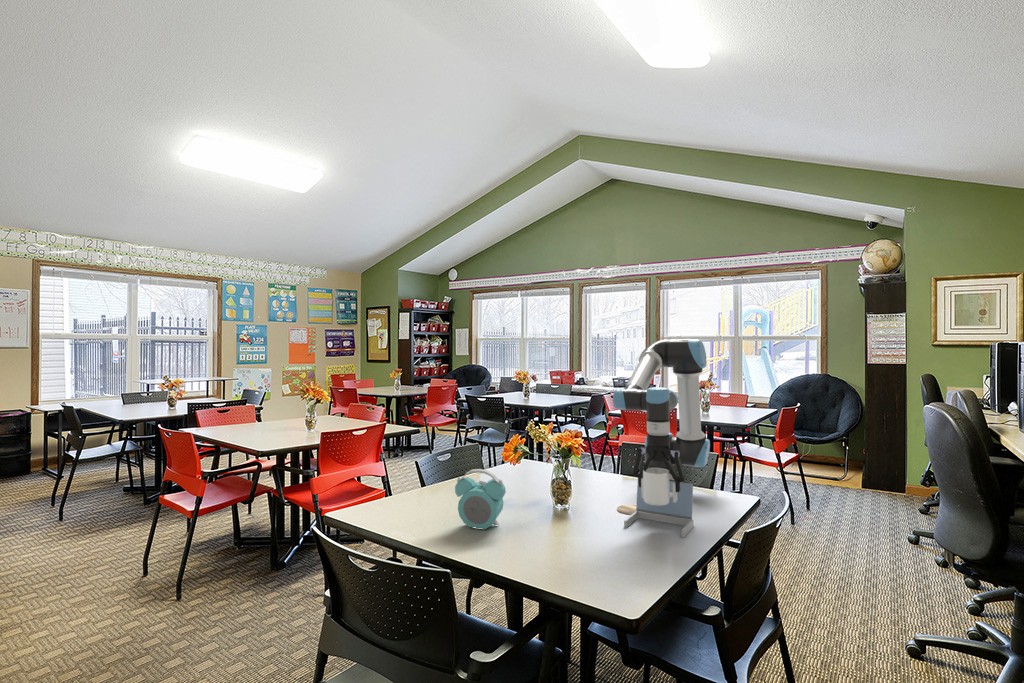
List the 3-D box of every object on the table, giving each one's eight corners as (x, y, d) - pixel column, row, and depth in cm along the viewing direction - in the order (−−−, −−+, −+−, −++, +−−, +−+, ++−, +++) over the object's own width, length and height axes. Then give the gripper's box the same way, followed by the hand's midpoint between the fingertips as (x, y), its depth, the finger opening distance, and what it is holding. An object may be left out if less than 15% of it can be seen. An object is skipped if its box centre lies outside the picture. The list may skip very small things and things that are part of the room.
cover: (636, 511, 195) (637, 510, 196) (691, 519, 185) (692, 519, 186) (637, 477, 197) (639, 477, 198) (692, 484, 187) (693, 483, 188)
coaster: (622, 504, 212) (622, 503, 212) (650, 508, 206) (650, 507, 206) (612, 511, 202) (612, 510, 202) (641, 516, 197) (641, 515, 197)
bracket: (636, 516, 196) (636, 510, 196) (693, 526, 186) (693, 519, 186) (624, 527, 186) (624, 520, 186) (684, 537, 175) (683, 530, 175)
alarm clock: (509, 524, 189) (508, 466, 189) (501, 533, 180) (500, 473, 180) (462, 520, 193) (461, 464, 194) (452, 529, 184) (451, 470, 184)
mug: (683, 505, 180) (682, 473, 180) (647, 506, 180) (646, 474, 180) (675, 497, 189) (674, 466, 189) (640, 498, 189) (640, 467, 189)
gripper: (622, 432, 187) (623, 497, 188) (689, 438, 175) (690, 507, 176) (629, 429, 194) (630, 491, 194) (695, 434, 182) (696, 500, 182)
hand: (659, 499), depth 185 cm, fingers closed on mug, 10 cm apart
